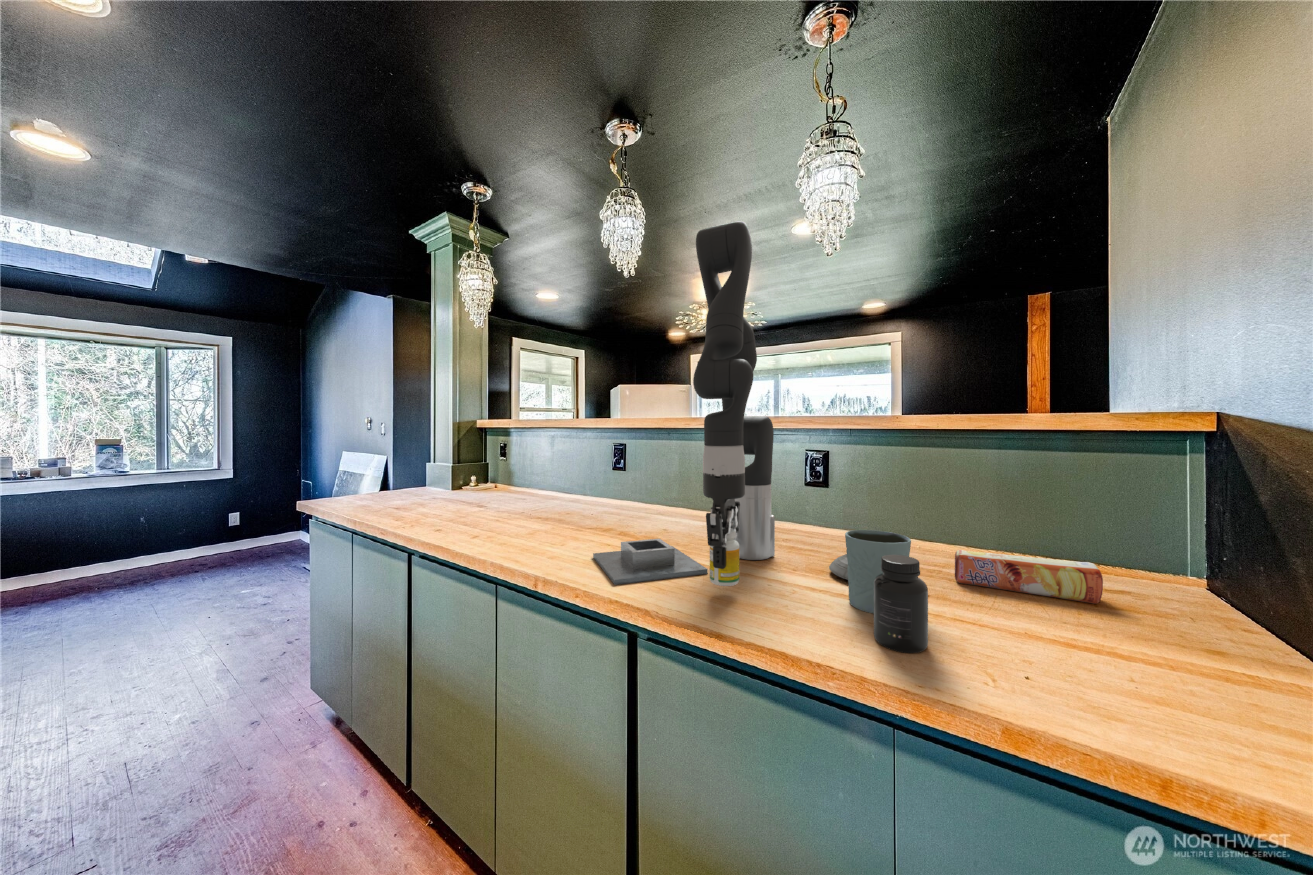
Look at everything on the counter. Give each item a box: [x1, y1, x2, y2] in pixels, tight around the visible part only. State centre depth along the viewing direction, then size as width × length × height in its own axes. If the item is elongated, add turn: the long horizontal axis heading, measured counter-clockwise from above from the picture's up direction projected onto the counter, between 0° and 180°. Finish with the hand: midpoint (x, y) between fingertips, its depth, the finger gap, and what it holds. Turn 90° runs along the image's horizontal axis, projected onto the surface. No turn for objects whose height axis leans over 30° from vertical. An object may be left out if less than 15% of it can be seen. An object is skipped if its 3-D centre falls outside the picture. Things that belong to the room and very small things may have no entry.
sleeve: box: [592, 538, 709, 586], centre depth 101 cm, size 20×20×4 cm
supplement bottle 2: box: [873, 555, 929, 654], centre depth 65 cm, size 7×7×12 cm
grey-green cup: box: [844, 529, 912, 615], centre depth 79 cm, size 10×10×12 cm
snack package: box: [954, 549, 1104, 605], centre depth 86 cm, size 21×7×7 cm, turn 57°
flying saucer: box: [828, 553, 849, 581], centre depth 93 cm, size 15×15×6 cm
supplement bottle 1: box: [709, 528, 740, 587], centre depth 83 cm, size 5×5×10 cm
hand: (724, 562), depth 83 cm, fingers closed on supplement bottle 1, 5 cm apart
